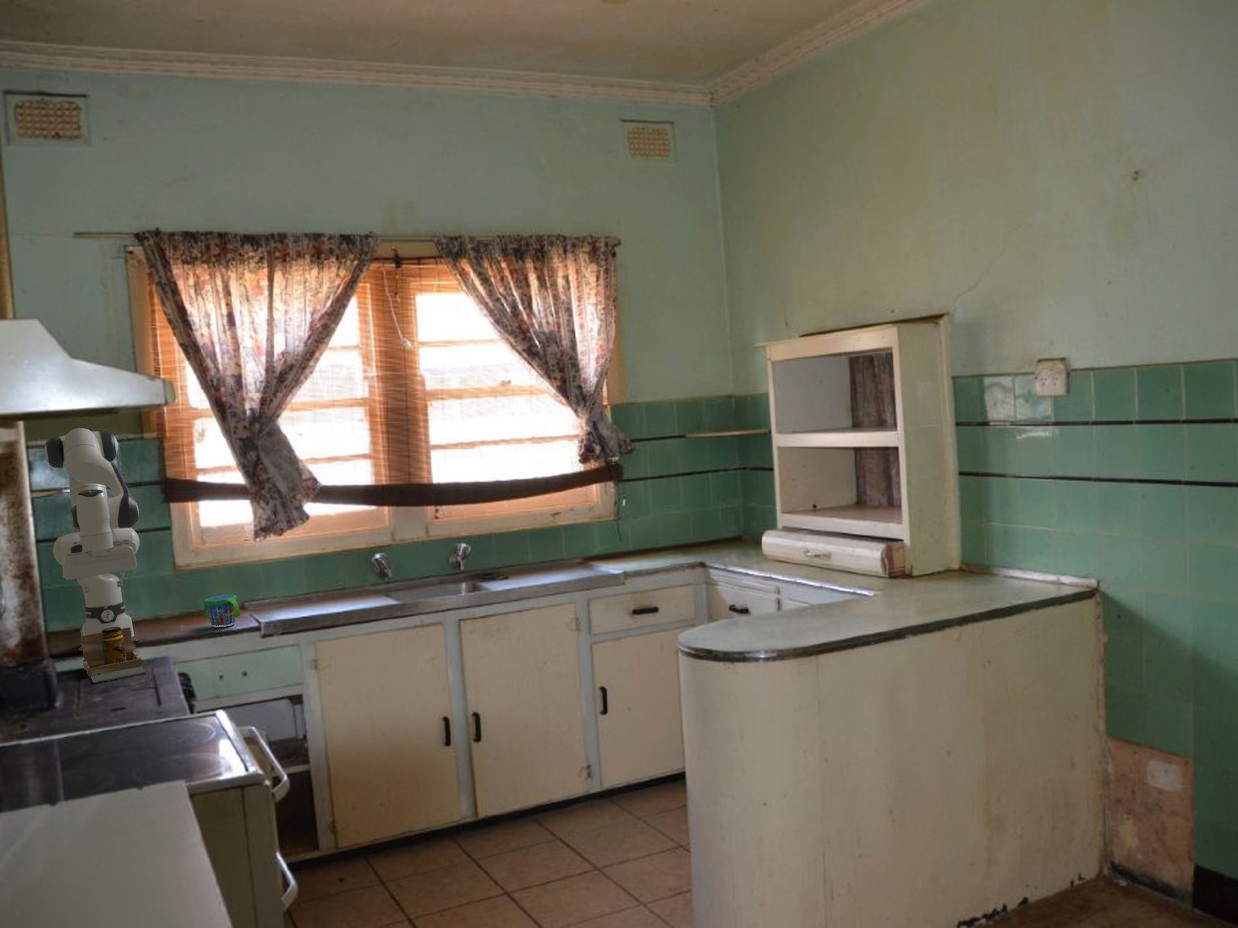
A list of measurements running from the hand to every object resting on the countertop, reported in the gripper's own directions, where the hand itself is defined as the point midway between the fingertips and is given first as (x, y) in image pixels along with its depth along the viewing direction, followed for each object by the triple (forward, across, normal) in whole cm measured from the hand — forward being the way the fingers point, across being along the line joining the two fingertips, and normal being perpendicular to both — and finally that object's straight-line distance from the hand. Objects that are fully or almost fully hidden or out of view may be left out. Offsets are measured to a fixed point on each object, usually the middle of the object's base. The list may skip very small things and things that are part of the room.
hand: (103, 589), depth 331 cm
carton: (+24, 0, 0) cm, 24 cm away
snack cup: (+24, -39, -35) cm, 58 cm away
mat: (+24, 0, +14) cm, 28 cm away
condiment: (+24, 0, 0) cm, 24 cm away
